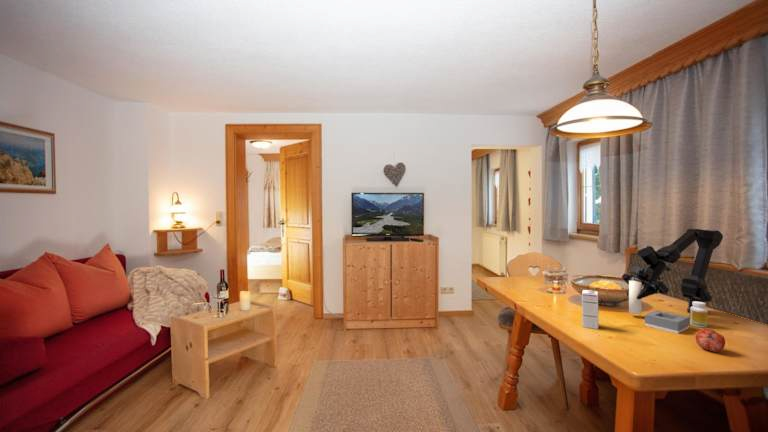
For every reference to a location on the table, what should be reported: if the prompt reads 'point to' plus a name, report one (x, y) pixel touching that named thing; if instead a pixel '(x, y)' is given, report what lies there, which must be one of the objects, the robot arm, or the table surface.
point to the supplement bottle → (698, 314)
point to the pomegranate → (710, 340)
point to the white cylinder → (635, 297)
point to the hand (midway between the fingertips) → (632, 297)
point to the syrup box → (590, 309)
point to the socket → (667, 321)
